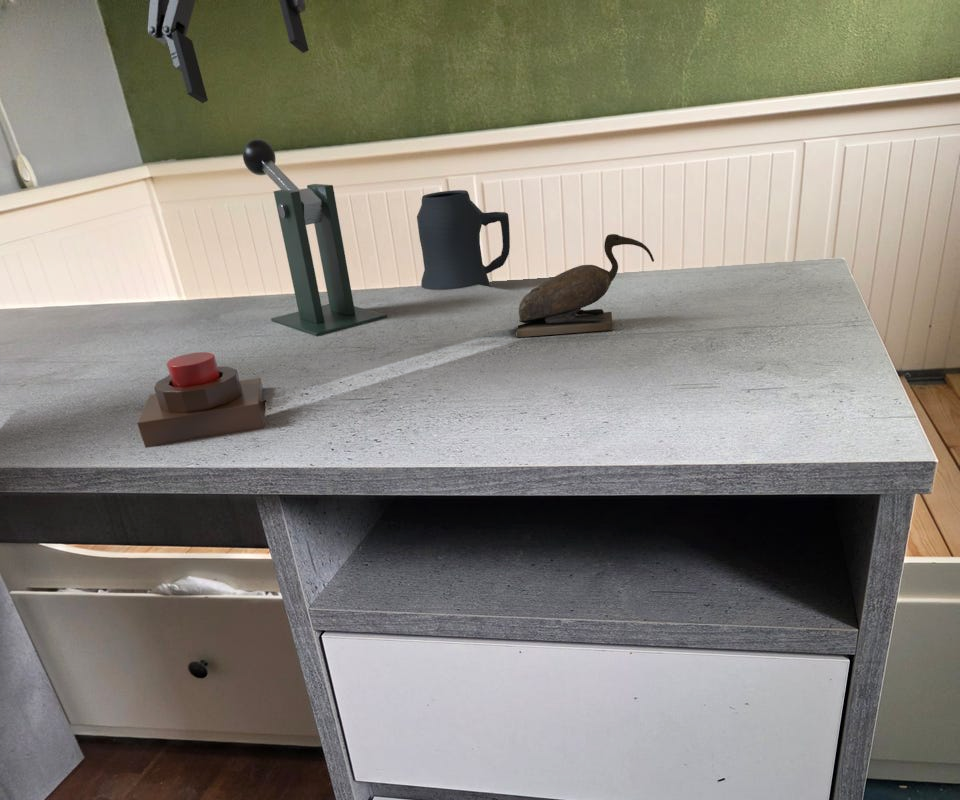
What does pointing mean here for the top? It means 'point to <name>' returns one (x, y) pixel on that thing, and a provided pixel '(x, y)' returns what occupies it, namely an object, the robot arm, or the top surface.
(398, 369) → the top surface
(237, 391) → the button block
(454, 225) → the mug
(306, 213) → the lever
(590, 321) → the figurine
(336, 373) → the top surface
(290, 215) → the bracket
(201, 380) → the button
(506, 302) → the top surface
